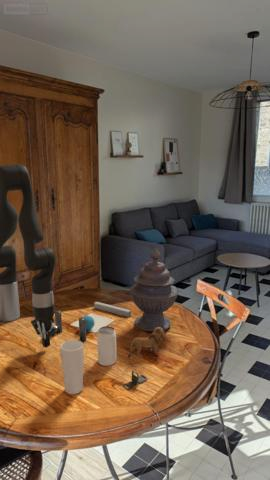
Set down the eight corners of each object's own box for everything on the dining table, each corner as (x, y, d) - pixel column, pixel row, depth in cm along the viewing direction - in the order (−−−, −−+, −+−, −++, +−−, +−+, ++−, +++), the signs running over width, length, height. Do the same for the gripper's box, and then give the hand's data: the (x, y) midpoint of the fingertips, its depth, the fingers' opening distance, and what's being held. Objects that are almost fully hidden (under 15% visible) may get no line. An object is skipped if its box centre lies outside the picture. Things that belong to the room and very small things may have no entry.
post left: (54, 332, 143) (53, 312, 141) (59, 329, 145) (57, 309, 143) (59, 333, 141) (57, 313, 140) (63, 331, 144) (62, 311, 142)
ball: (76, 319, 143) (85, 310, 147) (78, 329, 145) (88, 321, 150) (86, 324, 139) (96, 315, 143) (88, 335, 142) (98, 326, 146)
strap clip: (142, 376, 113) (142, 364, 112) (148, 380, 111) (148, 368, 110) (121, 387, 108) (121, 374, 107) (127, 391, 105) (127, 379, 104)
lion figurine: (159, 345, 132) (159, 323, 130) (167, 351, 127) (167, 329, 125) (124, 355, 125) (124, 332, 123) (131, 362, 120) (131, 338, 119)
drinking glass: (64, 383, 109) (61, 340, 106) (85, 382, 109) (83, 339, 106) (61, 397, 102) (58, 351, 99) (84, 396, 103) (82, 350, 100)
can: (113, 367, 117) (113, 335, 115) (95, 365, 119) (94, 333, 116) (118, 357, 124) (117, 326, 121) (101, 355, 125) (100, 324, 122)
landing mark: (70, 325, 149) (70, 324, 149) (91, 313, 161) (91, 313, 161) (95, 333, 142) (95, 332, 142) (115, 320, 153) (115, 320, 153)
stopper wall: (94, 307, 167) (94, 303, 167) (96, 306, 169) (96, 301, 168) (128, 317, 156) (128, 312, 156) (130, 315, 158) (130, 310, 158)
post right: (78, 340, 136) (77, 319, 134) (82, 337, 138) (81, 316, 136) (83, 342, 134) (82, 320, 133) (87, 339, 137) (86, 318, 135)
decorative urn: (120, 330, 142) (124, 247, 136) (138, 314, 160) (143, 240, 155) (167, 341, 135) (174, 254, 129) (180, 323, 153) (187, 246, 147)
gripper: (22, 302, 126) (26, 345, 129) (48, 310, 119) (51, 356, 122) (38, 296, 132) (41, 337, 135) (63, 303, 125) (66, 346, 128)
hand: (46, 346), depth 129 cm, fingers closed
